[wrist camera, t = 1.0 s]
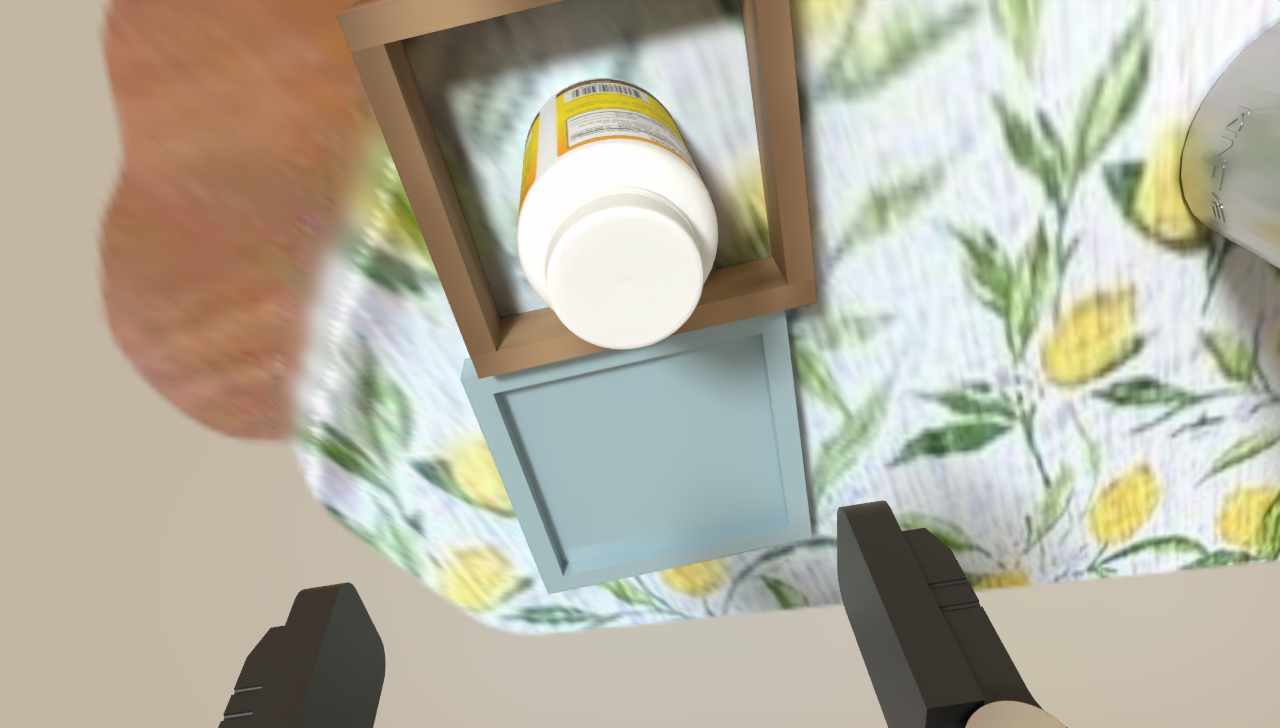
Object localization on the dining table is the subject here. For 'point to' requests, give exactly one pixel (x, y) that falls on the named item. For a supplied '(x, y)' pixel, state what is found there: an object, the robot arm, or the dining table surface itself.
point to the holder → (374, 34)
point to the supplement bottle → (614, 215)
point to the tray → (650, 452)
